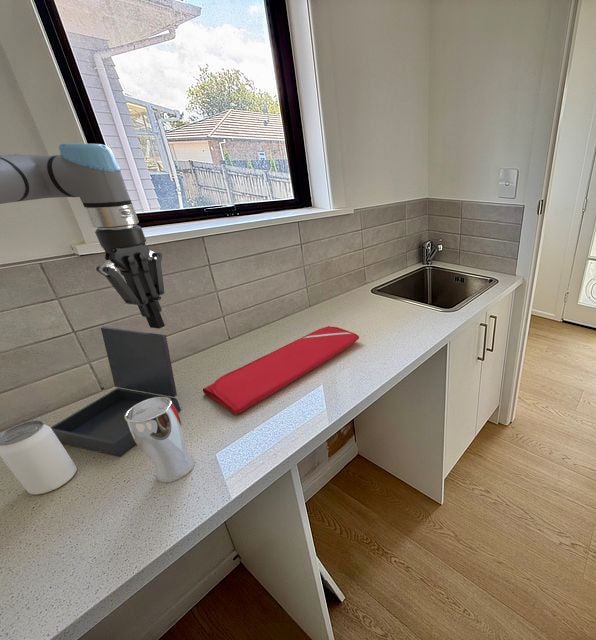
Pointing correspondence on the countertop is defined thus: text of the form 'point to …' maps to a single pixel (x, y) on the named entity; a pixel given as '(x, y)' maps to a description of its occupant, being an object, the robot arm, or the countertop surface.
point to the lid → (139, 361)
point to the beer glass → (160, 437)
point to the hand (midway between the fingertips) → (157, 326)
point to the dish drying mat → (278, 369)
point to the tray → (103, 423)
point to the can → (36, 457)
